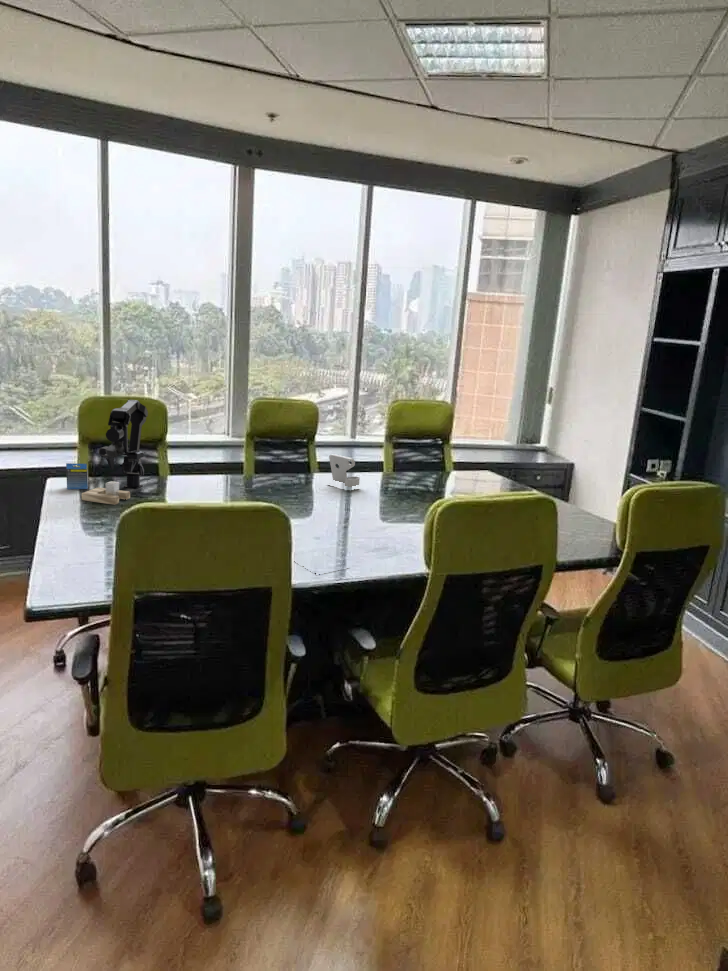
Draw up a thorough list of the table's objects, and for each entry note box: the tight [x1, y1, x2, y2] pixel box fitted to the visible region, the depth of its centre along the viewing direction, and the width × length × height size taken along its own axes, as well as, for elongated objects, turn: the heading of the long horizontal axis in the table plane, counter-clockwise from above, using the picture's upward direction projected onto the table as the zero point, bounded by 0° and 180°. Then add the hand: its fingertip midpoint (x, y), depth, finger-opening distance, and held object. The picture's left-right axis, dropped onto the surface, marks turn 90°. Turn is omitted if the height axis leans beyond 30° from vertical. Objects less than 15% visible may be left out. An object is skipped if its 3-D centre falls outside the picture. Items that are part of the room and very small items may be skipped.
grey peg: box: [105, 480, 120, 496], centre depth 266 cm, size 4×4×8 cm
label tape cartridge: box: [65, 462, 89, 490], centre depth 278 cm, size 9×4×12 cm, turn 108°
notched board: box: [81, 487, 131, 505], centre depth 267 cm, size 12×16×3 cm
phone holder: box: [329, 453, 361, 487], centre depth 325 cm, size 17×10×18 cm, turn 54°
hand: (121, 471), depth 271 cm, fingers open, 9 cm apart
